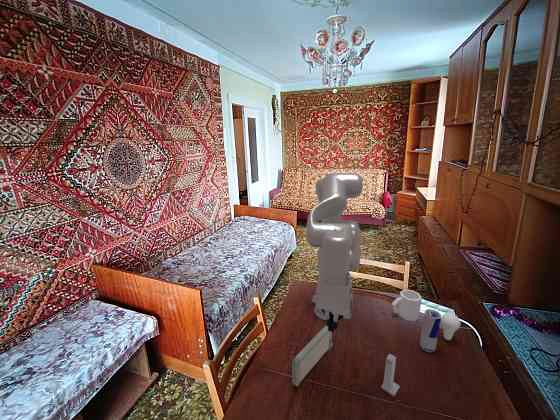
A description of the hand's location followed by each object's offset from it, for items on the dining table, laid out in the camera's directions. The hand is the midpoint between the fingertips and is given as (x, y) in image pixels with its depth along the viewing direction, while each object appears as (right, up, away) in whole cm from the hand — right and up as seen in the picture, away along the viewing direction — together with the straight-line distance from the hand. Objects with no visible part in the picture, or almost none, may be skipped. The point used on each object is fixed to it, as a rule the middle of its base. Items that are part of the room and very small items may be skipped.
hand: (332, 328), depth 78 cm
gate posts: (+10, -17, +11) cm, 22 cm away
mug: (+38, -10, +35) cm, 53 cm away
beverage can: (+38, -15, +17) cm, 45 cm away
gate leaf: (-5, -17, +10) cm, 20 cm away
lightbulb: (+48, -14, +21) cm, 54 cm away
